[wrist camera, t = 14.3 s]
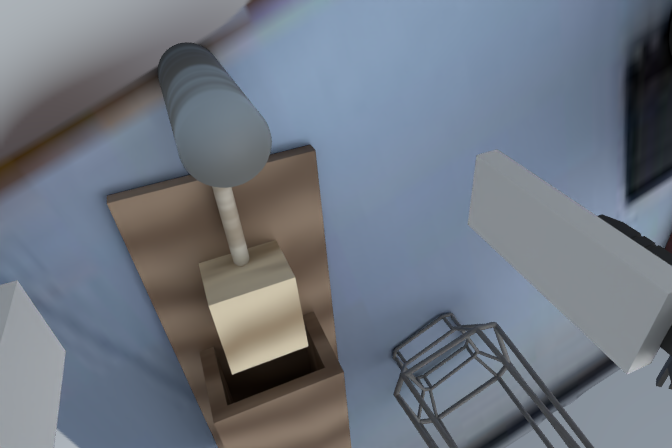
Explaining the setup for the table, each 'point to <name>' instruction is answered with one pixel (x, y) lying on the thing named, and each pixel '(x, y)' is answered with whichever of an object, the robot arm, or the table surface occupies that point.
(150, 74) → the table surface
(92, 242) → the table surface
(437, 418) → the geometric lantern
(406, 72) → the table surface
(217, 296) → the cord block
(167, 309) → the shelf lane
